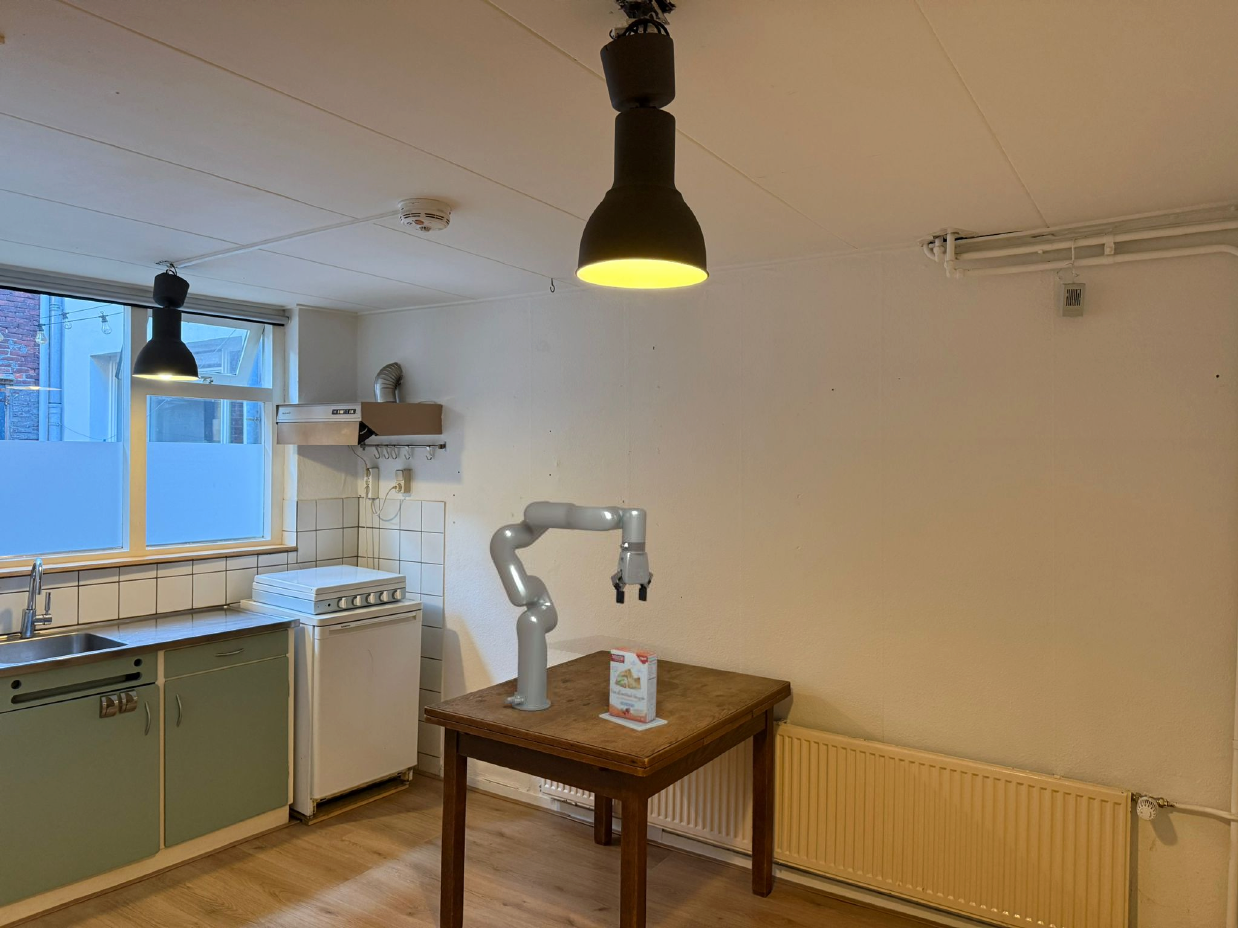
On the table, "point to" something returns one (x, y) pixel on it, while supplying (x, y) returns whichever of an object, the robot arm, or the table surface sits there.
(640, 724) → the plate
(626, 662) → the cracker box
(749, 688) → the table surface
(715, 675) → the table surface
